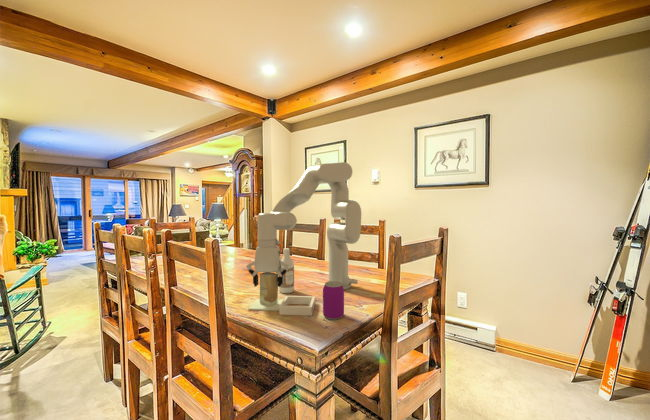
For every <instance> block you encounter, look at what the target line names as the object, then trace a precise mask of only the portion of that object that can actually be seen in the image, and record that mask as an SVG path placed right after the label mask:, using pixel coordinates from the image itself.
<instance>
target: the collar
mask: <svg viewBox="0 0 650 420" xmlns="http://www.w3.org/2000/svg"><path fill="white" fill-rule="evenodd" d="M283 299H284V300H283V302H282V303H281V305H280V306H279V311H278V312H279V315H285V316H287V315H288V316H312V315H313V312H314V308H315V305H316V296H315V295H314V296H311V295H310V296H309V295H286V296H284V298H283ZM307 305H308V306H307Z"/></svg>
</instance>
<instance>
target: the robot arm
mask: <svg viewBox="0 0 650 420" xmlns="http://www.w3.org/2000/svg"><path fill="white" fill-rule="evenodd" d="M352 176H353V167H352V166H351V165H350V163H348V162H344V161H343V162H342V161H341V162H333V163H332V162H330V163H329V162H328V163H319V164H313V165H310V166H309V167H307V168H306V170H305V171H304V173H303V174H302V175H301V177H300V178H299V179H298V181H297V183H296V184H295V186H294V187H293V188H292V189H291V190H290V191H289V192H287V193H286V194H285V195H284V196H283V197H282V198H280V199H279V200H278V202H277V203H276V204H275V205H274V207H273V208H272V209H271V211H270V212H260V213H258V215H257V246H256V248H255V254H254V261H252V262H250V263H248V264H247V265H245V266H246V270H247V271H248V273H249V274H250V275H251V277H252V282H253V283H252V284H253V287H257V286H258V285H259V275H258V273H264V272H271V273H276V274H278V288H279V287H280V286H281V284H283V275H284V274H285V273H286V272H287V270H288V268H289V265H288V264H286V263H284V262H282V261H281V259H282V257H281V249H280V246H279V245H281V240H279V239H278V232H277V231H290V230H292V229H293V228H295V226H297V223H298V222H297V221H298V220H297V217H296V215H295V214H294V213H292V211H293V210H294V209H295V208H297V207H299V206H301V205H303V204H305V203H307V202H308V201H310V199H311V197H312V196H313V195H314V193H316V192H315V191H316V190H317V188H318V187H319V185H320V184H327V185H328V186H329V188H330V191H331V194H330V195H331V197H330V199H331V200H330V214H331V217H332V218H333V219H335V220H339V221H340V220H341V221H344V222H338V221H337V222H332V223H331V224H329V225H328V227H327V230H326V236H327V241H328V243H327V244H328V282H329V281H337V282H341V283H342V286H343V288H344V291H346V290H349V289H351V288H352V284H353V285H357V284H358V279H355V278H350V276H349V248H348V245H347V244H350V245H352V244H353V245H354V244H356V243H357V242H358V241H359V240H360V237H361V233H362V232H361V231H362V229H361V227H362V208H361V205H360V204H359V202H358V201H356V200H349V199H350V195H349V194H350V193H349V191H350V190H349V187H348V185H347V183H346V182H347V181H348V180H350V179H351V178H352ZM281 265H282V266H284V267H285V269H284V270H283V271H281ZM252 267H253V268H254V269H253V268H252Z"/></svg>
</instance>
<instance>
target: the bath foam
mask: <svg viewBox="0 0 650 420" xmlns="http://www.w3.org/2000/svg"><path fill="white" fill-rule="evenodd" d="M290 251H291V250H290V247H289V248H287V247H285V248H284V247H283V251H282V252H283V256H282V257H281V261H282V262H284V263H286V264H288V265H289V268H288V270H287V272H286V273H285V274H284V275H283V284H281V286H280V287H278V292H279V293H281V294H292V293H293V292H294V291H295V264H294V263H295V262H294V261H293V259H292V258H291V255H290V253H291V252H290ZM284 269H285V267H284V266H282V265H281V271H283V270H284Z"/></svg>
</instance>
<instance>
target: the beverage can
mask: <svg viewBox="0 0 650 420" xmlns="http://www.w3.org/2000/svg"><path fill="white" fill-rule="evenodd" d="M322 314H323V316H324V317H325V318H326V319H327V320H330V321H331V320H332V321H333V320H334V321H336V320H340V319H341V318H342V317H344V315H345V290H344V288H343V286H342V283H341V282H337V281H329V280H328V281H326V282H324V285H323V289H322Z"/></svg>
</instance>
